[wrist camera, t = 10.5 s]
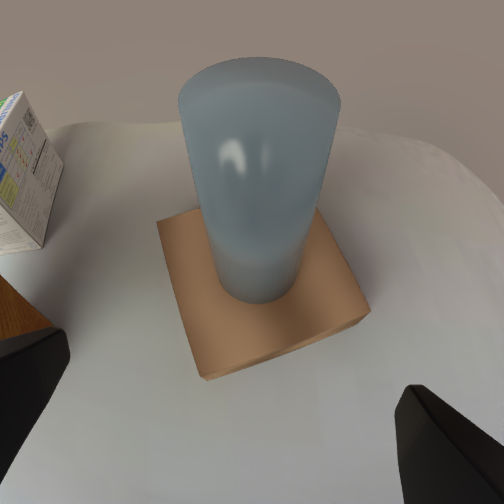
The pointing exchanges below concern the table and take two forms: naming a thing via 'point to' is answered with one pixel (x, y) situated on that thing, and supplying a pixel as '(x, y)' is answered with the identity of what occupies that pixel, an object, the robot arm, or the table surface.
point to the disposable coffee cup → (17, 313)
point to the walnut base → (256, 315)
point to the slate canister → (258, 166)
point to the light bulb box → (25, 176)
